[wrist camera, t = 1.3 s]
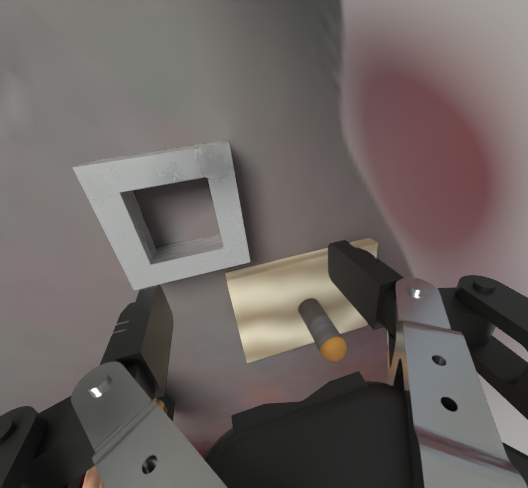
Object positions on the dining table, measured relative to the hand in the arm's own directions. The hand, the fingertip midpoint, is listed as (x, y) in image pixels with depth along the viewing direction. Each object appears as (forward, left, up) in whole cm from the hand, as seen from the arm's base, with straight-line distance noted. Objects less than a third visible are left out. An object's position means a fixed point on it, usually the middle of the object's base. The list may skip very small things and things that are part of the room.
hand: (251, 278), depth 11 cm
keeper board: (+14, +7, -12) cm, 19 cm away
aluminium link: (0, -4, -12) cm, 12 cm away
